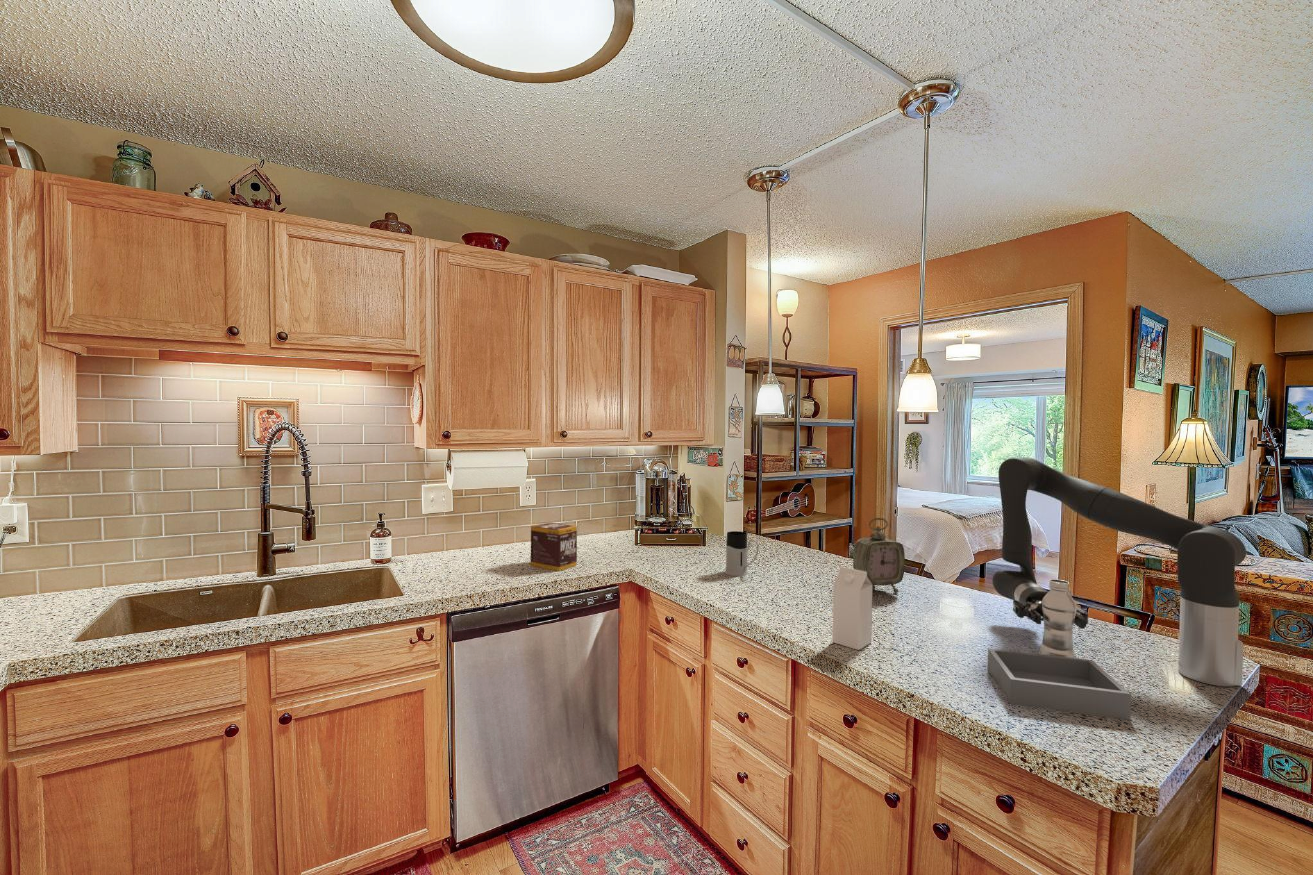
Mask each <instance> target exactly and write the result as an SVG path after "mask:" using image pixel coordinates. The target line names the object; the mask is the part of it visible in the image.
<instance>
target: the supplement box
mask: <svg viewBox="0 0 1313 875" xmlns="http://www.w3.org/2000/svg"><path fill="white" fill-rule="evenodd" d="M577 553H578V526H577V525H572V524H571V525H570V524H563V523H556V522H545V523H541V524H536V525H535V524H534V525H530V562H529V563H530V566H533V567H537V568H542V569H548V570H552V571H557V572H561V571H565V570H568V569H569V568H573V567H576V566H578V565H577V564H578V562H577V560H578V558H577V557H578V554H577Z"/></svg>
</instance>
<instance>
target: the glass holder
mask: <svg viewBox="0 0 1313 875" xmlns="http://www.w3.org/2000/svg"><path fill="white" fill-rule="evenodd" d="M751 542H755V544H756V551H755V556H754V558H753V559H752V561H750V563H748V551H749V550H750V546H751ZM758 542H759V541H757V540H755V539H750V540H749V541H748V533H747V532H745V531H741V530H739V531H738V530H737V531H736V530H734V531H732V530H731V531H728V532H727V533H726V545H725V546H726V549H725V550H726V552H725V553H726V554H725V556H726V557H725V560H726V561H725V571H724V574H726V575H728V576H731V577H733V576H734V577H744V576H747V575H749V570H748V567H750V565H752V563H754V562H755V561H756V560H757V557H758V554H759V550H760V548H759V543H758Z"/></svg>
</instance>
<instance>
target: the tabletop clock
mask: <svg viewBox="0 0 1313 875" xmlns="http://www.w3.org/2000/svg"><path fill="white" fill-rule="evenodd" d="M878 520H879V521H884V522H885V524H886V525H885V526H884V527H881V526H879V525H877V526H876V528H875V527H872V526H871V524H872V523H873V522H874V521H878ZM868 526H869V528H870V530H873V532H872V533H871V534H870V536H869V537H863V538H859V539H858V540H856V541H855V542H854V544H853V545H854V546H853V552H852V567H853V568H852V569H855V570H860V571H865V572H867V577H868V579H869V580H870V582H871V584H872V591H875V590H876V586H891V587H892V588H893V590H892V591H893V593H894V594H897V593H899V589H898V588H897V587H896V586H895V585H897V584H899V583H901V582H902V581H903V578H904V576H905V575H904V574H905V567H906V566H905V564H906V563H905V562H906V558H905V557H906V555H905V553H906V552H905V547H904V545H903V544H902V543H900V542H899V541H898V542H897V541H894V540H891V539H889V538H887V535H886V534H885V533H884V532H883V531H884V530H885V529H887V527H888V526H889V522H888V520H887V519H885V518H883V517H874V518H872V519H871V520H870V521H869V522H868Z"/></svg>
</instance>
